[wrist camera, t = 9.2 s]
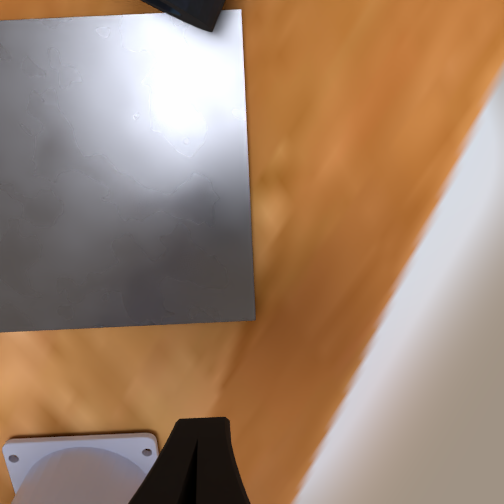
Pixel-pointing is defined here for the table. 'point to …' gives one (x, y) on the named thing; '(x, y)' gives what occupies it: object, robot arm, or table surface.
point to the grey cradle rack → (123, 173)
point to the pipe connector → (191, 11)
